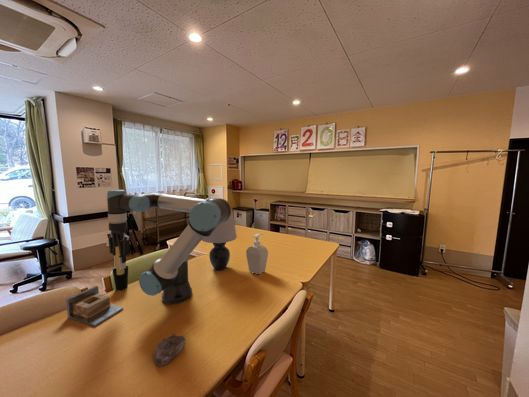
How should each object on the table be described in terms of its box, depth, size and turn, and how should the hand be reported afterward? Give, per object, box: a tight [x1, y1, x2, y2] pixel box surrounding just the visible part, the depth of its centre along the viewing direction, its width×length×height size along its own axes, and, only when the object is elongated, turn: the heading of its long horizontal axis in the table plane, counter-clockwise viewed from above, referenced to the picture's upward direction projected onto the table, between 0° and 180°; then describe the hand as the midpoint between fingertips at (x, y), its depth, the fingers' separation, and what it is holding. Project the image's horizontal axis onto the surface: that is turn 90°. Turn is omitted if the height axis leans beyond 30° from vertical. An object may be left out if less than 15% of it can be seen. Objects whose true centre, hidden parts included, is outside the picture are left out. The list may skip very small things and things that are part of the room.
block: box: [73, 293, 111, 319], centre depth 104 cm, size 10×10×5 cm
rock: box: [152, 333, 186, 368], centre depth 80 cm, size 8×11×5 cm
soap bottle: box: [245, 233, 269, 275], centre depth 148 cm, size 12×10×26 cm
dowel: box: [115, 246, 124, 275], centre depth 109 cm, size 3×3×14 cm
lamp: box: [201, 211, 238, 272], centre depth 152 cm, size 24×24×40 cm
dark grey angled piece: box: [65, 285, 124, 328], centre depth 103 cm, size 18×13×9 cm
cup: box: [111, 265, 129, 291], centre depth 126 cm, size 8×8×12 cm
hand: (120, 268), depth 109 cm, fingers closed on dowel, 3 cm apart
